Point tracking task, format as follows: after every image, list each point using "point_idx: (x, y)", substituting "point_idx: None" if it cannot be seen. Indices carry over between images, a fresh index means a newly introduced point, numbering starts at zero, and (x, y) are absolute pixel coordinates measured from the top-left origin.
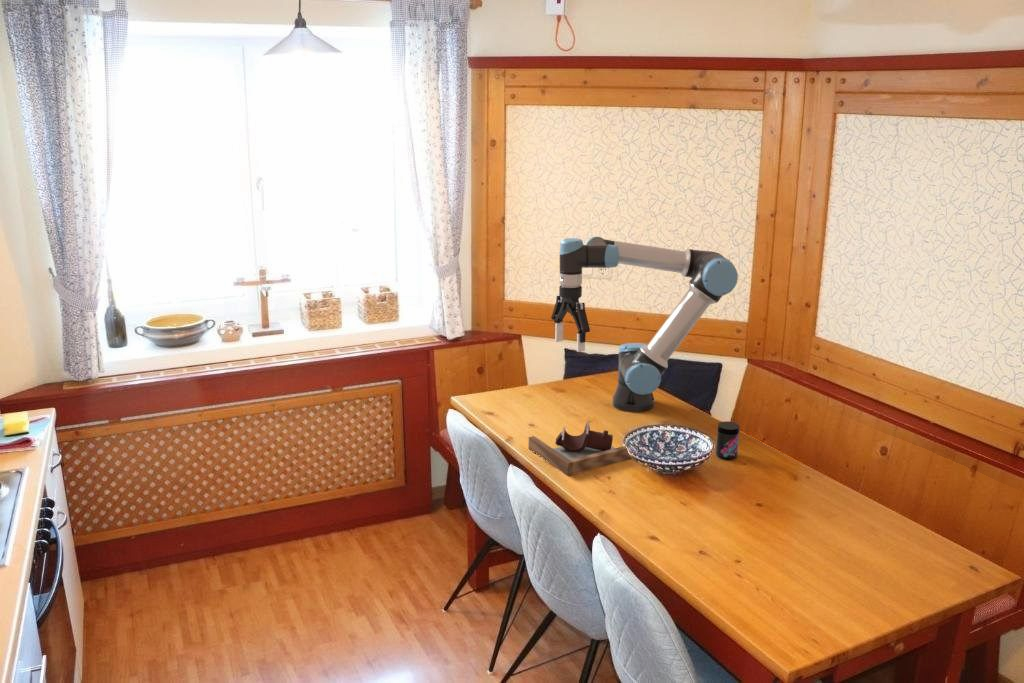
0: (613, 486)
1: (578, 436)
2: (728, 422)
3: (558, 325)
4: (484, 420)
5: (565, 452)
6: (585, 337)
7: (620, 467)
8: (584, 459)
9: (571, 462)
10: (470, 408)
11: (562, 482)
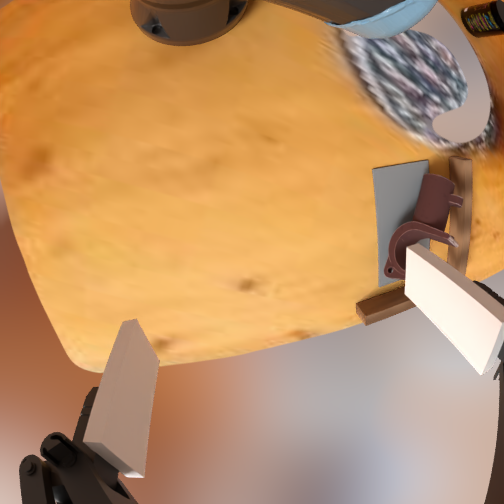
0: (491, 227)
1: (403, 234)
2: (499, 6)
3: (134, 452)
4: (197, 359)
5: None
6: (502, 298)
7: None
8: (467, 257)
9: None
10: None
11: None
